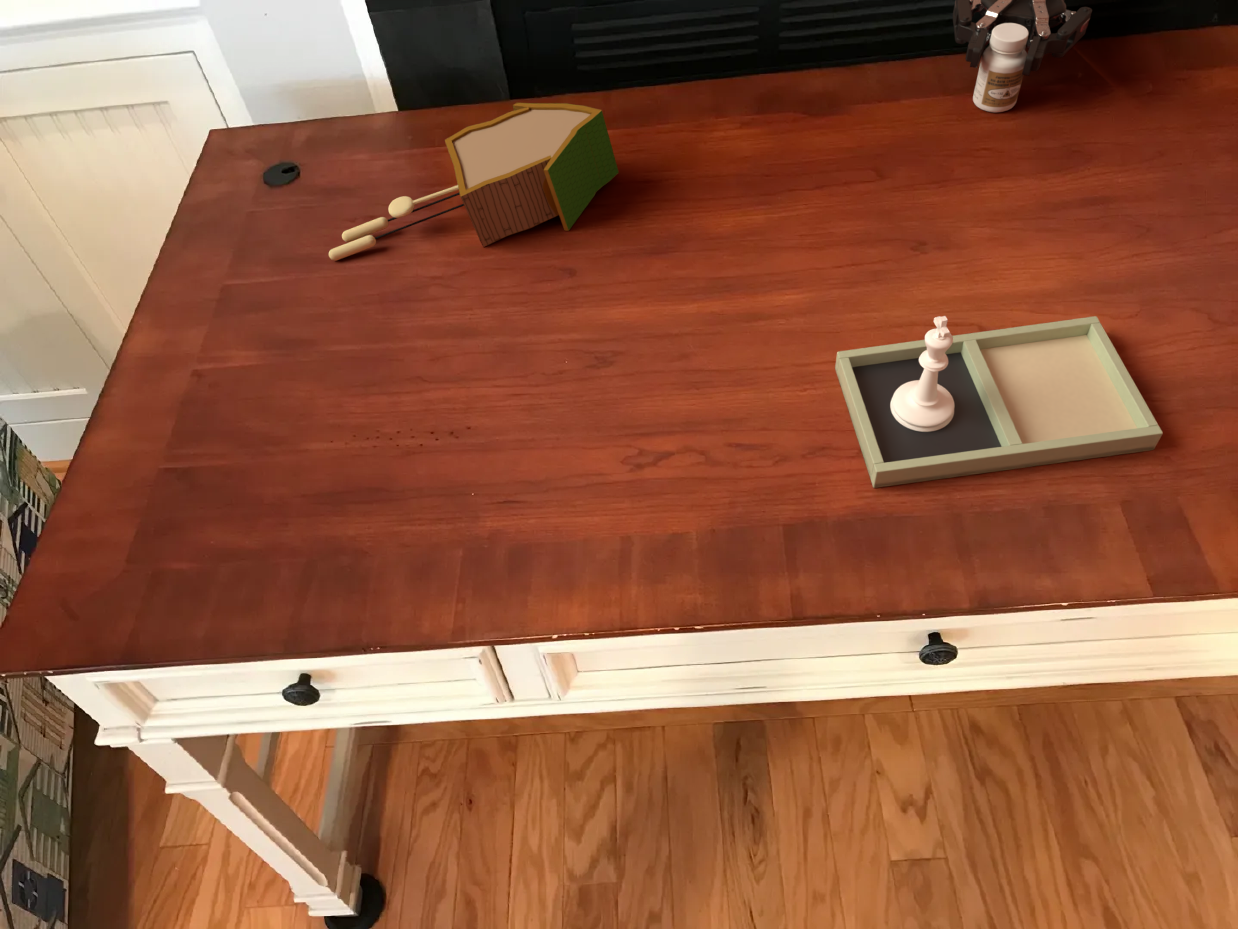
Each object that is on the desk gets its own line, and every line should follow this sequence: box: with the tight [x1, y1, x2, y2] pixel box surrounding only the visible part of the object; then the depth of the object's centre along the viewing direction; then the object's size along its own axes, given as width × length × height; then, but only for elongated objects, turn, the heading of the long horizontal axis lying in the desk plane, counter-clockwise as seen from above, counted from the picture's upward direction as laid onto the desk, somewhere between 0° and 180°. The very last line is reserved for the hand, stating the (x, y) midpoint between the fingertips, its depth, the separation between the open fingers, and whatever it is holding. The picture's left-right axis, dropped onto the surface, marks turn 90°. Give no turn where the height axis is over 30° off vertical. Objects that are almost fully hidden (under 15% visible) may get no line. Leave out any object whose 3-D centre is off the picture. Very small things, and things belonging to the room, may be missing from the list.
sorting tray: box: [834, 315, 1164, 489], centre depth 78 cm, size 22×13×2 cm, turn 95°
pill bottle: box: [972, 23, 1028, 113], centre depth 100 cm, size 4×4×8 cm
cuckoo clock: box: [328, 102, 620, 262], centre depth 97 cm, size 12×8×30 cm
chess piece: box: [890, 315, 954, 432], centre depth 74 cm, size 5×5×10 cm
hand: (1001, 62), depth 97 cm, fingers closed on pill bottle, 4 cm apart
